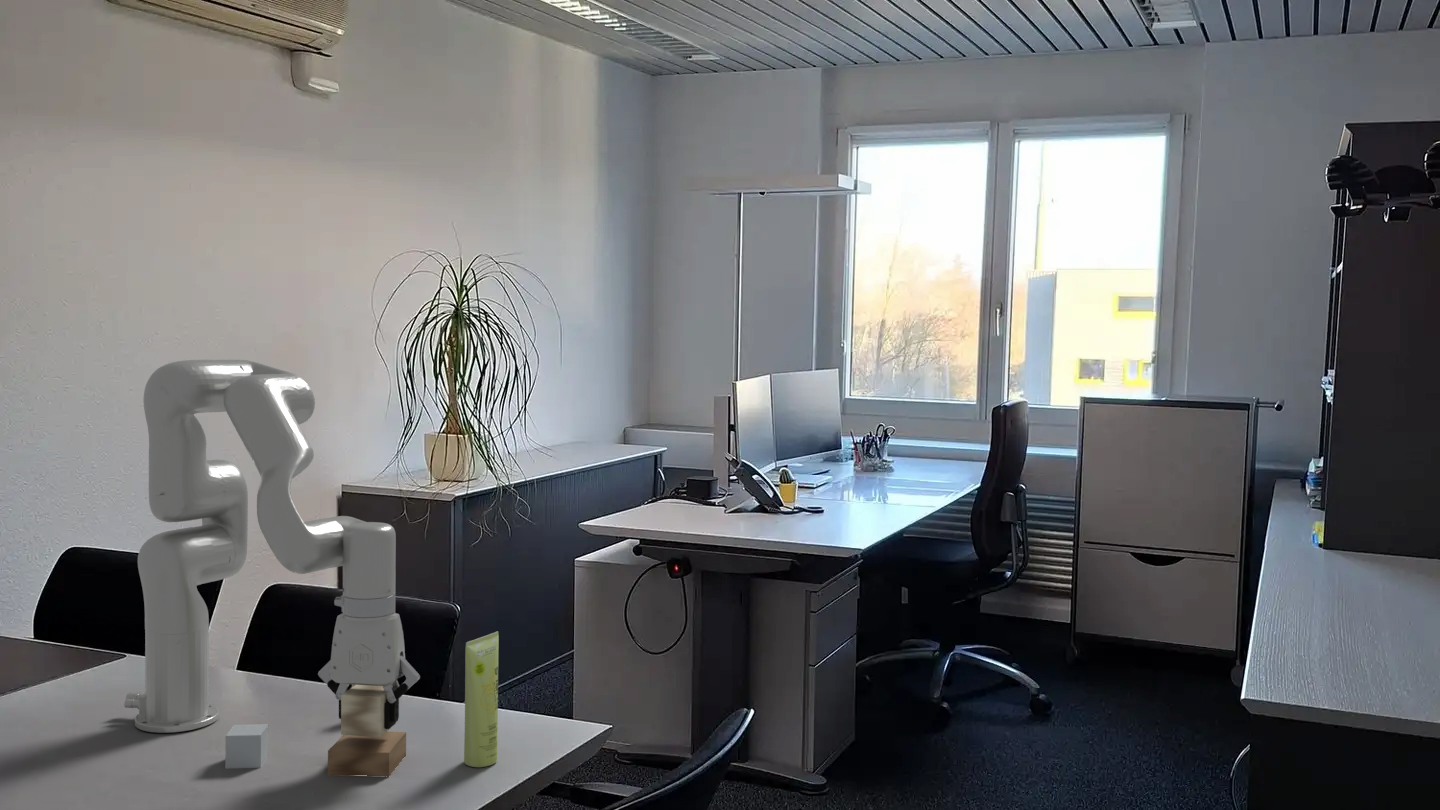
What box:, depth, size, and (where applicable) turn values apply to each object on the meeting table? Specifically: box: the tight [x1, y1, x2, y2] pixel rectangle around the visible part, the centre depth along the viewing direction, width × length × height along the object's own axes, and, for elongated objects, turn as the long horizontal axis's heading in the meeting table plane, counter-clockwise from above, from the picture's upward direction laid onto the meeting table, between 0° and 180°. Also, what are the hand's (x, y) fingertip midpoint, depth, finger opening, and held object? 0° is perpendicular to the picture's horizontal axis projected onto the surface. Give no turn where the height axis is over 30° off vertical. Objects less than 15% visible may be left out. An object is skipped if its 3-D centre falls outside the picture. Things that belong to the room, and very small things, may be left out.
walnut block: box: [327, 731, 407, 778], centre depth 180 cm, size 9×9×4 cm
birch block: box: [340, 685, 395, 737], centre depth 180 cm, size 6×6×6 cm
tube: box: [463, 631, 500, 768], centre depth 182 cm, size 6×5×20 cm
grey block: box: [225, 723, 269, 770], centre depth 180 cm, size 5×5×5 cm
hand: (368, 723), depth 180 cm, fingers closed on birch block, 6 cm apart
